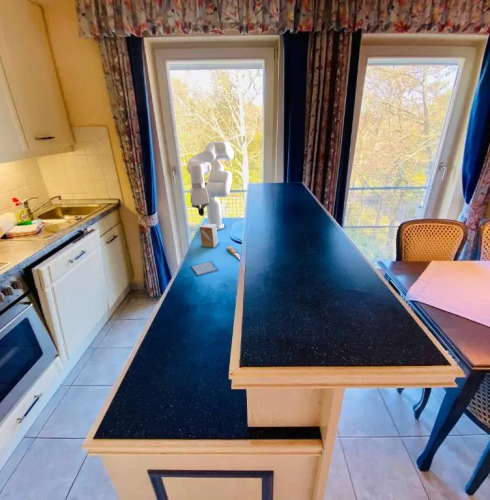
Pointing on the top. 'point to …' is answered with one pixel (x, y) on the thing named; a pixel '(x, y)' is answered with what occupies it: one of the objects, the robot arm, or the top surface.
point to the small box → (209, 235)
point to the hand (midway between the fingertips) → (201, 215)
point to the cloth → (203, 268)
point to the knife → (233, 252)
